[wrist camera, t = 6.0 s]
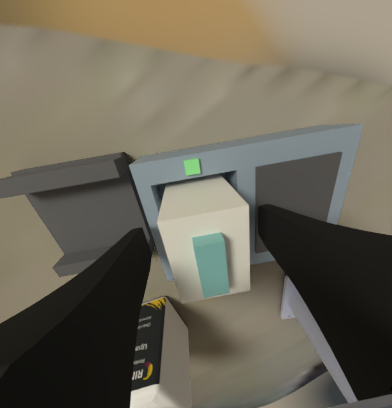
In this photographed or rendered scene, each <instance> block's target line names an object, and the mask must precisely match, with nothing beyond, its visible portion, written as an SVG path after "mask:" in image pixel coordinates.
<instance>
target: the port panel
mask: <svg viewBox="0 0 392 408" xmlns="http://www.w3.org/2000/svg"><path fill="white" fill-rule="evenodd" d="M363 127H364V124H342V125H319V126H313V127H308V128H302V129H296V130H291V131H285V132H279V133H274V134H268V135H262V136H257V137H251V138H245V139H239V140H234V141H228V142H222V143H217V144H211V145H205V146H200V147H194V148H188V149H183V150H177V151H171V152H165V153H160V154H154V155H148V156H143V157H140V158H139V159H137V160H136V161H134V162H133V163H131V164H130V165H129V167H130V170H131V173H132V176H133V179H134V182H135V185H136V188H137V191H138V194H139V197H140V200H141V203H142V206H143V209H144V212H145V215H146V218H147V221H148V224H149V227H150V230H151V233H152V236H153V239H154V242H155V245H156V248H157V251H158V254H159V257H160V260H161V263H162V266H163V269H164V272H165V275H166V278H167V281H172V280H174V276H173V273H172V270H171V267H170V263H169V260H168V257H167V254H166V250H165V247H164V244H163V241H162V237H161V234H160V231H159V228H158V224H157V220H158V216H159V211H160V207H161V203H162V199H163V195H164V191H165V186H166V183H168V182H174V181H179V180H185V179H190V178H196V177H201V176H207V175H213V174H218V173H219V174H220V175H221V176H222V177H223V178H224V179H225V180H226V181H227V182H228V183H229V184H230V185H231V187H232V188H233V189H234V190H235V191H236V192H237V193H238V194H239V195H240V196H241V197H242V198H243V199H244V201H245V202H246V203H247V204H248V205H249V243H250V265H255V264H260V263H265V262H270V261H276V260H275V259H274V257H273V256H272V255H271V253H270V252H269V251H268V249H267V248H266V247H265V245H264V243H263V242H262V240H261V238H260V236H259V234H258V206H259V205H265V204H271V205H274V206H278V207H281V208H284V209H287V210H289V211H292V212H295V213H298V214H301V215H304V216H308V217H311V218H314V219H318V220H321V221H324V222H328V223H332V224H336V225H337V224H338V220H339V216H340V213H341V209H342V205H343V201H344V198H345V194H346V190H347V187H348V183H349V179H350V175H351V172H352V168H353V164H354V160H355V157H356V153H357V149H358V145H359V142H360V138H361V134H362V131H363Z"/></svg>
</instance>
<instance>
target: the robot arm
mask: <svg viewBox="0 0 392 408" xmlns="http://www.w3.org/2000/svg"><path fill="white" fill-rule="evenodd" d="M258 234H259V236H260V238H261V240H262V242H263V243H264V245H265V247H266V248H267V249H268V251H269V252H270V253H271V255H272V256H273V257H274V259H275V260H276V261H277V263H278V264H279V265H280V267H281V268H282V269H283V271H284V272H285V273H286V276H285V280H284V288H283V297H282V305H281V313H280V316H281V318H282V319H289V318H294V317H295V318H296V319H297V321H298V323H299V324H300V326H301V327H302V329H303V331H304V332H305V334H306V335H307V337H308V339H309V340H310V342H311V344H312V345H313V347H314V348H315V350H316V352H317V353H318V355H319V356H320V358H321V360H322V361H323V363H324V364H325V366H326V368H327V369H328V371H329V372H330V374H331V376H332V377H333V379H334V381H335V382H336V384H337V385H338V387H339V389H340V390H341V392H342V393H343V395H344V397H345V398H346V400H347V401H348V403H347V404H343V405H339V406H334V407H329V408H392V235H385V234H380V233H374V232H368V231H363V230H358V229H353V228H349V227H344V226H340V225H336V224H332V223H328V222H324V221H321V220H318V219H314V218H311V217H308V216H304V215H301V214H298V213H295V212H292V211H289V210H287V209H284V208H281V207H278V206H274V205H271V204H265V205H259V206H258ZM151 254H152V253H151V250H150V247H149V244H148V242H147V239H146V236H145V233H144V231H143V228H142V227H140V228H135V229H132V230H130V231H129V232H128V233H127V234H125V235H124V236H123V237H122V238H121V239H120V240H119V241H118V242H117V243H116V244H114V245H113V246H112V247H111V248H110V249H109V250H108V251H107V252H105V253H104V254H103V255H102V256H101V257H99V258H98V259H97V260H96V261H95V262H94V263H92V264H91V265H90V266H89V267H87V268H86V269H85V270H83V271H82V272H81V273H79V274H78V275H77V276H75V277H74V278H73V279H71V280H70V281H68V282H67V283H66V284H64V285H63V286H61V287H60V288H58V289H56V290H55V291H53V292H52V293H50V294H49V295H47V296H46V297H44V298H43V299H41V300H40V301H38V302H36V303H35V304H33V305H31V306H30V307H28V308H26V309H25V310H23V311H21V312H20V313H18V314H16V315H15V316H13V317H11V318H9V319H8V320H6V321H4V322H2V323H1V324H0V408H130V401H131V388H132V377H133V366H134V356H135V348H136V339H137V331H138V324H139V316H140V311H141V306H142V302H143V297H144V293H145V289H146V284H147V280H148V276H149V271H150V265H151Z"/></svg>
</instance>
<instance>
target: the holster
mask: <svg viewBox="0 0 392 408" xmlns="http://www.w3.org/2000/svg"><path fill="white" fill-rule="evenodd" d="M11 174H12V176H10V177H6V178H2V179H0V198H6V197H12V196H18V195H23V194H25V195H26V197H27V198H28V200H29V201H30V203H31V204H32V206H33V207H34V209H35V210H36V212H37V213H38V215H39V216H40V218H41V219H42V221H43V222H44V224H45V225H46V227H47V228H48V230H49V231H50V233H51V234H52V236H53V237H54V239H55V240H56V242H57V243H58V245H59V246H60V248H61V249H62V251H63V252H64V256H63V257H62V258H61V259H60V260H59V261H58V262H57V263H56V264H55V265H54V266H53V267H52V268H53V269H54V270H55V272H56V273H57V274H58V276H59V277H62V276H68V275H73V274H78V273H81V272H82V271H83V270H85V269H86V268H87V267H89V266H90V265H91V264H92V263H94V262H95V261H96V260H97V259H98V258H99V257H101V256H102V255H103V254H104V253H105V252H107V251H108V250H109V249H110V248H111V247H112V246H113V245H114V244H116V243H117V242H118V241H119V240H120V239H121V238H122V237H123V236H124V235H125V234H127V233H128V232H129V231H130V230H132V229H135V228H140V227H142V228H143V231H144V233H145V236H146V239H147V242H148V244H149V247H150V250H151V253H152V251H153V250H154V246H155V242H154V239H153V236H152V233H151V230H150V227H149V224H148V221H147V218H146V215H145V212H144V209H143V206H142V203H141V200H140V197H139V194H138V191H137V188H136V185H135V182H134V179H133V176H132V173H131V170H130V167H129V164H128V161H127V158H126V155H125V152H121V153H115V154H110V155H104V156H98V157H92V158H87V159H81V160H75V161H70V162H64V163H58V164H52V165H47V166H41V167H35V168H29V169H24V170H19V171H15V172H11ZM151 255H152V254H151Z"/></svg>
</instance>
